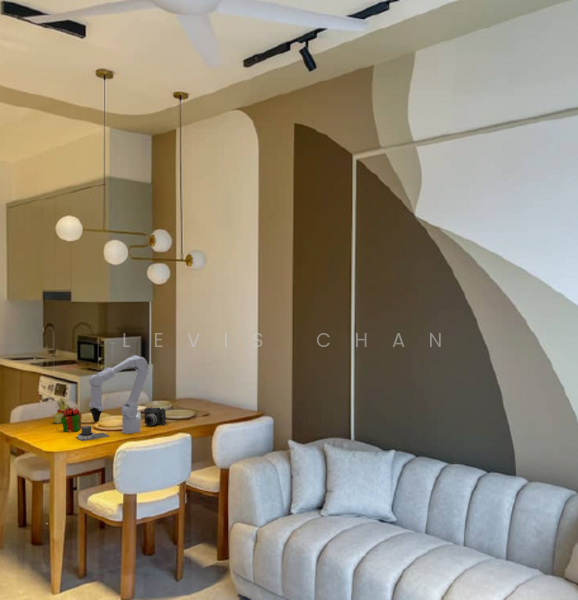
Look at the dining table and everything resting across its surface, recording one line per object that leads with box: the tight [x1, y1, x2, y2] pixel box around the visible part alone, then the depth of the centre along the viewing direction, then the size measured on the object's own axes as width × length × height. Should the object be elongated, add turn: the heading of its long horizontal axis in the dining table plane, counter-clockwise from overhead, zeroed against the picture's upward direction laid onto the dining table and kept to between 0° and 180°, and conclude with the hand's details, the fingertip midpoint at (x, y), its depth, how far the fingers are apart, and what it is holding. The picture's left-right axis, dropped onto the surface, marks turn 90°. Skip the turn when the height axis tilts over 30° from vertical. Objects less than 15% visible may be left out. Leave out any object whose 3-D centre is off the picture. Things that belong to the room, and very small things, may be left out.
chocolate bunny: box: [52, 397, 72, 425], centre depth 357 cm, size 7×11×15 cm, turn 137°
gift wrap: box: [51, 406, 88, 434], centre depth 333 cm, size 20×19×14 cm
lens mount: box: [74, 431, 111, 442], centre depth 322 cm, size 16×10×3 cm, turn 131°
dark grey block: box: [81, 425, 92, 436], centre depth 320 cm, size 5×5×6 cm
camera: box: [143, 406, 167, 427], centre depth 355 cm, size 14×11×10 cm
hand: (96, 421), depth 322 cm, fingers closed
